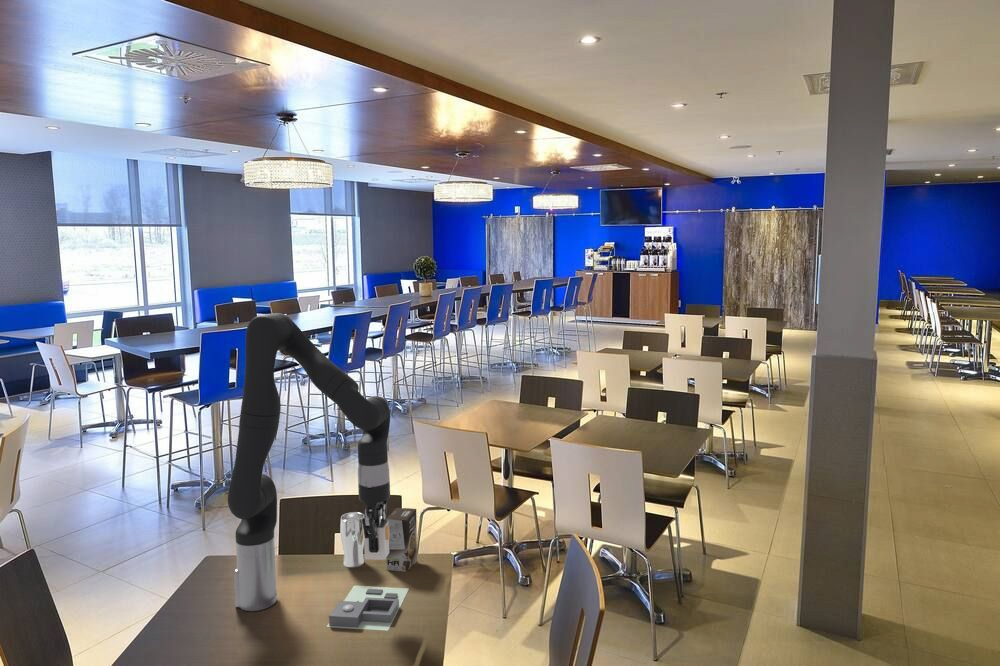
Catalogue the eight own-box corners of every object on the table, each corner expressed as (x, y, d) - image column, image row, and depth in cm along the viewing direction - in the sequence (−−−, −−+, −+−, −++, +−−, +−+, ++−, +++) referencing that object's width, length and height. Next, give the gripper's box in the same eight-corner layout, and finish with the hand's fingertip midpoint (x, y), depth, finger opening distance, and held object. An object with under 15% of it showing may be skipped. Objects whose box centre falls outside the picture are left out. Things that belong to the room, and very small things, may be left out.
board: (326, 631, 158) (326, 618, 157) (354, 589, 177) (353, 578, 177) (388, 635, 156) (387, 622, 156) (409, 592, 176) (408, 581, 175)
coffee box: (407, 576, 185) (406, 520, 183) (385, 573, 186) (384, 518, 184) (418, 561, 194) (417, 508, 192) (397, 559, 195) (396, 506, 193)
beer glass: (354, 558, 195) (353, 509, 194) (371, 565, 191) (370, 515, 190) (336, 567, 190) (334, 517, 188) (352, 574, 186) (351, 523, 184)
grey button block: (329, 625, 158) (328, 614, 157) (344, 602, 168) (344, 591, 168) (357, 627, 157) (357, 615, 157) (371, 604, 168) (371, 593, 167)
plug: (364, 559, 161) (363, 526, 160) (369, 552, 165) (368, 520, 164) (387, 559, 160) (386, 527, 159) (391, 552, 164) (390, 520, 163)
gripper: (367, 470, 168) (370, 535, 170) (349, 489, 154) (352, 560, 156) (396, 470, 167) (398, 536, 169) (381, 490, 153) (383, 561, 155)
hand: (376, 547), depth 162 cm, fingers closed on plug, 4 cm apart
